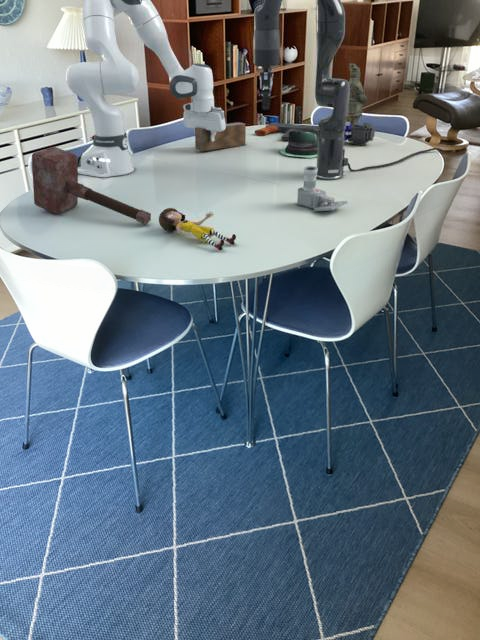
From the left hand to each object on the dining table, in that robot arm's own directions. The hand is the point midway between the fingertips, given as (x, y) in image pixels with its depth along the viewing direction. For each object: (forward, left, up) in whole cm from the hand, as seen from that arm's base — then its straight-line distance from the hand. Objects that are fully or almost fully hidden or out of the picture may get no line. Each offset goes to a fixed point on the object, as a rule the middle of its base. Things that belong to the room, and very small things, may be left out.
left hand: (205, 140), depth 238 cm
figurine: (+35, -94, -5) cm, 100 cm away
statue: (+55, +55, -5) cm, 78 cm away
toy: (+60, +29, -5) cm, 67 cm away
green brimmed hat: (+41, +8, -5) cm, 43 cm away
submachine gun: (+28, +38, -5) cm, 48 cm away
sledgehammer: (-2, -86, -5) cm, 86 cm away
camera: (+63, -60, -5) cm, 87 cm away
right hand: (+44, -57, +24) cm, 76 cm away
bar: (+5, +7, -4) cm, 9 cm away
